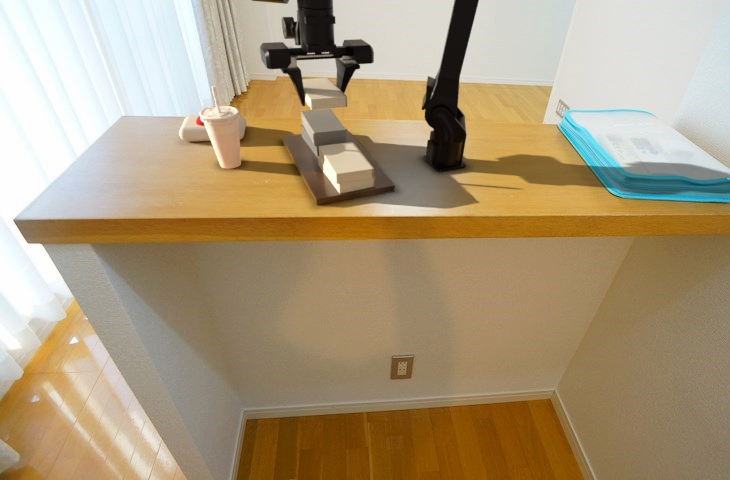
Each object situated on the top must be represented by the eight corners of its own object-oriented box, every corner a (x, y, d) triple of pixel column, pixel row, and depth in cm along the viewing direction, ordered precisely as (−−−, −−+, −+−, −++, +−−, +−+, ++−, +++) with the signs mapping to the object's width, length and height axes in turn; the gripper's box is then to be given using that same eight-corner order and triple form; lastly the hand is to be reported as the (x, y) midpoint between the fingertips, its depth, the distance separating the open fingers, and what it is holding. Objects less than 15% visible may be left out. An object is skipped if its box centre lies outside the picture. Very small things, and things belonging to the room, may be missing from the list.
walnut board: (346, 133, 90) (346, 128, 90) (394, 191, 73) (394, 185, 72) (282, 141, 86) (281, 136, 85) (316, 205, 68) (316, 199, 67)
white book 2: (353, 150, 77) (353, 141, 76) (373, 178, 70) (374, 168, 69) (319, 155, 75) (318, 145, 74) (336, 184, 68) (336, 174, 66)
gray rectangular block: (329, 133, 87) (329, 121, 86) (348, 155, 80) (348, 142, 78) (301, 136, 85) (300, 124, 83) (318, 159, 78) (317, 146, 76)
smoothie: (213, 174, 74) (192, 93, 65) (211, 158, 78) (191, 80, 69) (250, 169, 76) (235, 90, 67) (246, 154, 80) (232, 78, 71)
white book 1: (329, 87, 81) (328, 77, 80) (347, 106, 74) (347, 96, 73) (296, 89, 79) (295, 79, 78) (311, 110, 72) (310, 99, 70)
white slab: (244, 103, 89) (240, 121, 81) (248, 123, 92) (244, 142, 84) (183, 104, 87) (173, 122, 79) (189, 124, 89) (180, 143, 82)
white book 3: (350, 159, 79) (350, 150, 77) (375, 186, 71) (375, 177, 70) (318, 165, 76) (317, 156, 75) (339, 193, 69) (339, 184, 68)
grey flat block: (331, 121, 86) (330, 108, 84) (346, 142, 78) (346, 129, 76) (302, 123, 84) (300, 111, 82) (315, 146, 76) (314, 132, 74)
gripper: (353, -2, 76) (354, 86, 86) (247, -3, 69) (262, 93, 79) (375, 9, 68) (374, 105, 78) (259, 10, 62) (274, 114, 72)
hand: (321, 103), depth 77 cm, fingers closed on white book 1, 6 cm apart
